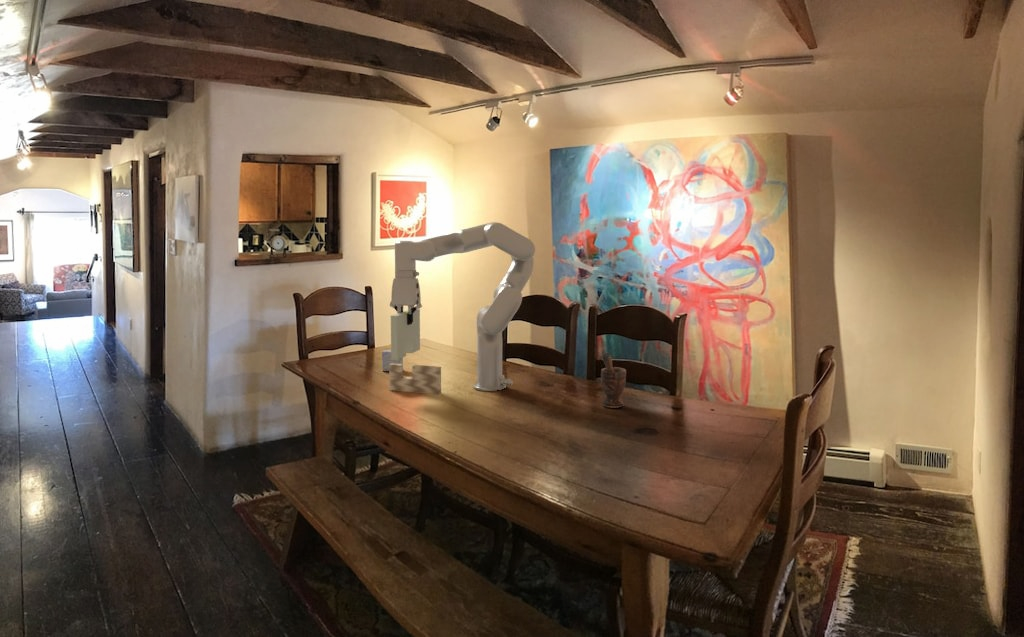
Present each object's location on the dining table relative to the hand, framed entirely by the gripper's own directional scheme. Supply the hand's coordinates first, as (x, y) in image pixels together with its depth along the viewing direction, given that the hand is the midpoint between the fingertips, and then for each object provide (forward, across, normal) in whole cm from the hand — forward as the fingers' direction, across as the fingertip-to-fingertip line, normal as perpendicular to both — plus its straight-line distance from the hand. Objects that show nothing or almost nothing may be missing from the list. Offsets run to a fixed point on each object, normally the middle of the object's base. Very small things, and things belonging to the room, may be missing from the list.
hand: (405, 323), depth 247 cm
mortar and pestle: (+25, -78, -1) cm, 82 cm away
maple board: (+26, -4, 0) cm, 26 cm away
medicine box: (+26, +20, -28) cm, 43 cm away
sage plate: (+12, 0, 0) cm, 12 cm away
